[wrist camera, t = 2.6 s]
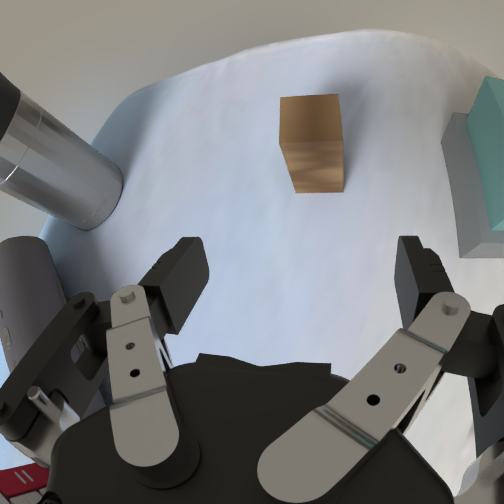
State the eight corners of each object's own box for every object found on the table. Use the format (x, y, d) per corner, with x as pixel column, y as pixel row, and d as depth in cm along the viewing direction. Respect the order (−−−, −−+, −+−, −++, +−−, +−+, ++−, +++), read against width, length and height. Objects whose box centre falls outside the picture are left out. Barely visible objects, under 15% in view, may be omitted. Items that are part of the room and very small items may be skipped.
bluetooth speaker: (32, 284, 36) (-24, 269, 27) (69, 245, 35) (9, 221, 26) (89, 442, 28) (26, 459, 19) (139, 419, 27) (71, 439, 18)
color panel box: (92, 500, 26) (6, 535, 12) (92, 520, 25) (13, 555, 11) (39, 457, 29) (-42, 473, 15) (40, 478, 29) (-36, 495, 15)
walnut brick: (296, 193, 29) (279, 143, 21) (296, 153, 30) (280, 97, 22) (343, 192, 28) (342, 140, 20) (340, 151, 29) (338, 94, 21)
